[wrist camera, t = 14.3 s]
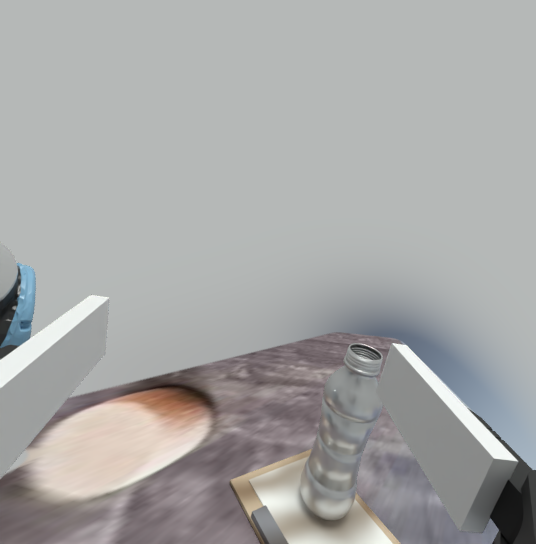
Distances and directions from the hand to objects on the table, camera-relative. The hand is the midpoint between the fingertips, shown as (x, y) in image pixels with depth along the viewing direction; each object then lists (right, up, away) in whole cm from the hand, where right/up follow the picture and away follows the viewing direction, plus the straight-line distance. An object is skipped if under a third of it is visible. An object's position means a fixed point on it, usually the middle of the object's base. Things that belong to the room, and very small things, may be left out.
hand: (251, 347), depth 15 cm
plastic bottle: (+7, -24, +23) cm, 34 cm away
